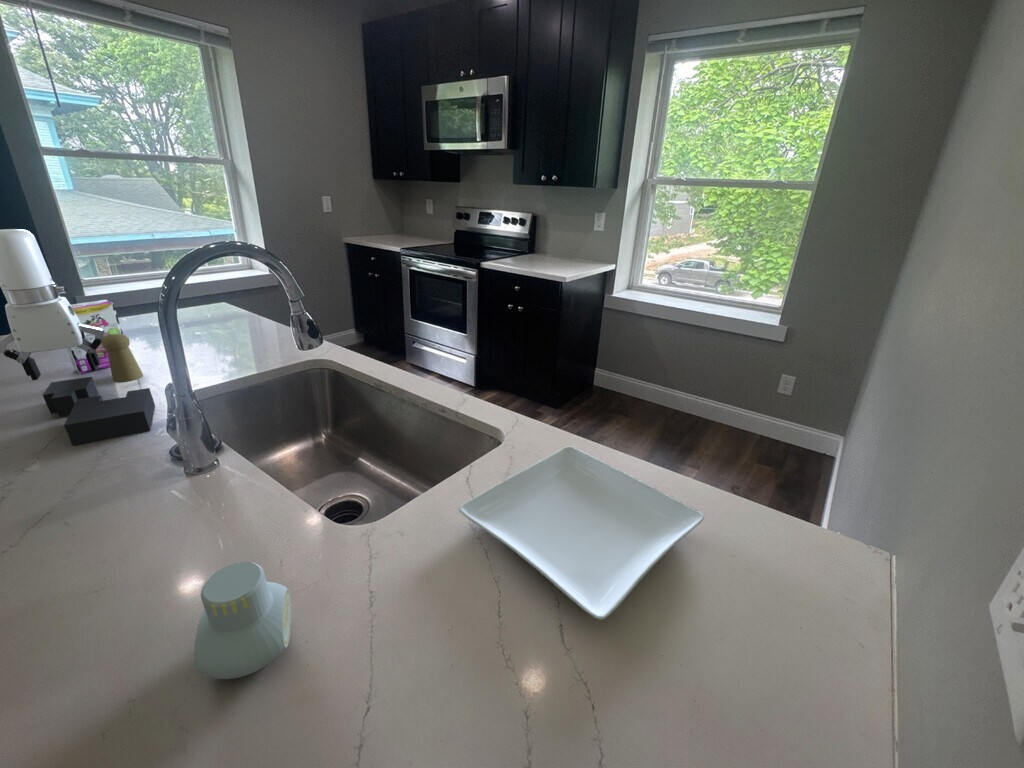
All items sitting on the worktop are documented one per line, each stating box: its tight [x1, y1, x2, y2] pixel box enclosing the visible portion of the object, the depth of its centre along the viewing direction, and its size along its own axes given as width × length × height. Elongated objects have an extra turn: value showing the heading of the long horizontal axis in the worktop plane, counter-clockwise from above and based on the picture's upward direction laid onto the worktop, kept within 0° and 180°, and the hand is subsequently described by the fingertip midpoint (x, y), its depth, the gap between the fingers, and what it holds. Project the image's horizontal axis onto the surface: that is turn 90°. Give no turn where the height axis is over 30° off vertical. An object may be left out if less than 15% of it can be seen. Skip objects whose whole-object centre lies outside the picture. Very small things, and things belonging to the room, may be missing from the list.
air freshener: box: [193, 561, 292, 680], centre depth 51 cm, size 11×8×10 cm
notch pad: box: [63, 387, 156, 447], centre depth 95 cm, size 12×12×4 cm
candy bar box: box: [66, 299, 124, 375], centre depth 118 cm, size 11×5×16 cm, turn 144°
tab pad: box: [42, 376, 100, 418], centre depth 101 cm, size 7×10×4 cm
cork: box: [102, 333, 144, 383], centre depth 114 cm, size 6×6×11 cm
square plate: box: [458, 445, 705, 621], centre depth 71 cm, size 27×27×4 cm
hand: (66, 373), depth 100 cm, fingers open, 9 cm apart
